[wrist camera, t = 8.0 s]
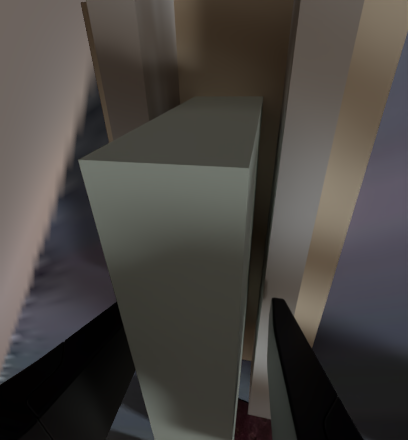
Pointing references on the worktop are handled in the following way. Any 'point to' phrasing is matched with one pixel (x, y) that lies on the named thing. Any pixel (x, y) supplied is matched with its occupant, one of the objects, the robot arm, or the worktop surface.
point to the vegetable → (251, 425)
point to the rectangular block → (182, 255)
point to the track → (265, 120)
